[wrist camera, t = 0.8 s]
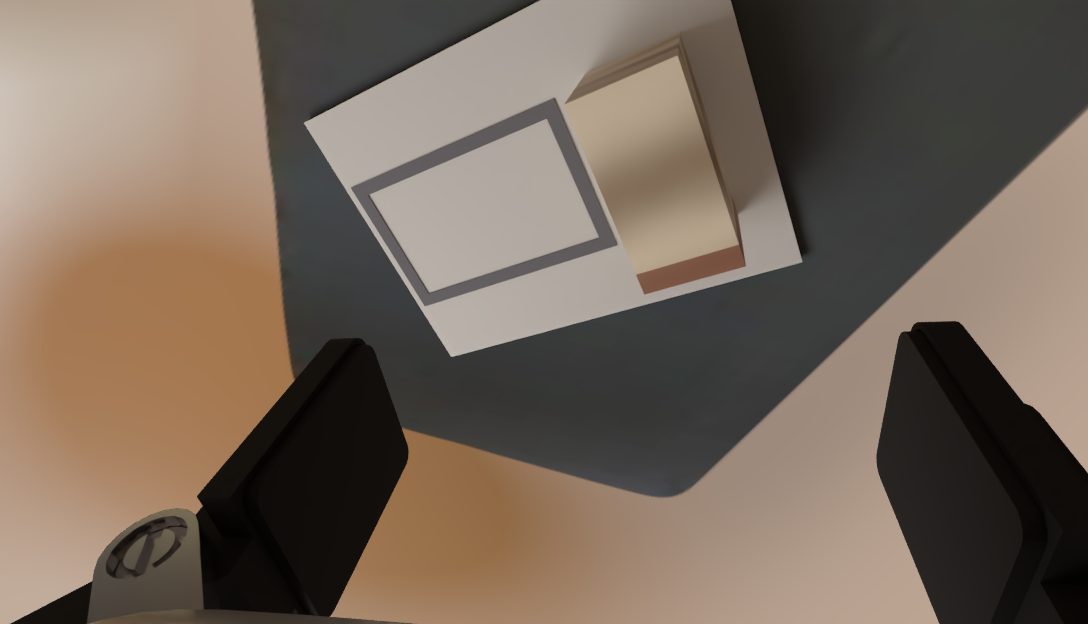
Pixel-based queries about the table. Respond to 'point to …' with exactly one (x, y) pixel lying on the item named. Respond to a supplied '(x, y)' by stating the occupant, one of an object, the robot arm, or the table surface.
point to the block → (658, 166)
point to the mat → (537, 167)
